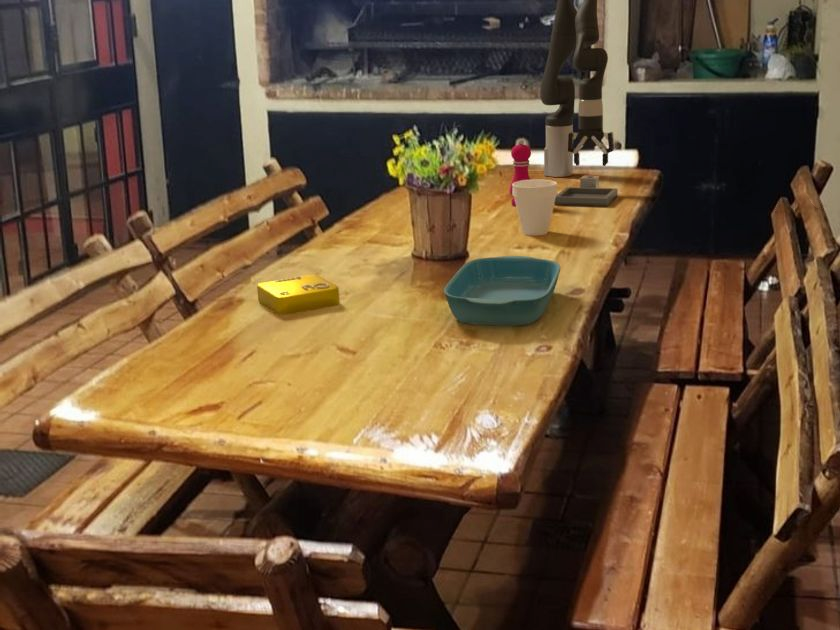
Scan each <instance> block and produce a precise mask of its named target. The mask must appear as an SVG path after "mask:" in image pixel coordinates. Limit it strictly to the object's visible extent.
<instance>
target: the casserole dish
mask: <svg viewBox="0 0 840 630" xmlns="http://www.w3.org/2000/svg"><path fill="white" fill-rule="evenodd" d="M560 272H561V265H560V263H559V262H557V261H556V260H555V261H554V260H550V259H544V258H538V257H537V258H536V257H532V256H524V255H502V256H496V257H495V256H494V257H482V258H481V257H480V258H475V259H473V260H469V261H468V262H465V263H464V264H463V265H462V266H461V267H460V268H459V270H458V271H457V272H456V273H455V274H454V275H453V277H452V278H451V279H450V280H449V282H448V283H447V284H446V285H445V286H444V289H443V294H444V295H445V298H446V301H447V303H448V306H449V308H450V312H451V314H452V315H453V318H455V319H456V320H457V321H459V322H460V323H463V324H466V325H474V326H475V325H477V326H499V327H501V326H505V327H509V326H510V327H511V326H512V327H514V326H517V327H519V326H527V325H529V324H532V323H534V322H536V321H537V320H538V319H539V318H540V317H542V315H543V314H544V312H545V310H546V308H547V306H548V304H549V302H550V300H551V298H552V296H553V294H554V291H555V289H556V286H557V283H558V279H559V276H560Z"/></svg>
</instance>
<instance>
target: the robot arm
mask: <svg viewBox="0 0 840 630" xmlns="http://www.w3.org/2000/svg"><path fill="white" fill-rule="evenodd" d="M550 35H551V36H550V43H549V50H548V55H547V60H546V65H545V68H544V71H543V76H542V80H541V84H540V90H539V91H540V95H539V96H540V100H541V102H542V104H543V105H545V106H559V107H558V108H557V109H556V111H554V112H553V113H551V114H549V115H547V116H546V117H545V147H544V149H543V152H544V153H543V154H544V155H543V163H544V164H543V166H544V167H543V172H544V174H543V175H544V177H545V176H546V177H553V178H555V177H556V178H563V177H564V178H565V177H570V176H573V175H574V164H575V165H576V166H577V167H578V166H580V164H581V163H580V151H581V149H582V148H583V147H586V148H587V147H591V148H592V147H597V148H598V149H599V150H600V151H601V152H602V167H606V165H607V164H608V163H609V153H612V152H613V151H614V150H615V144H614V143H615V142H614V140H615V139H614V132H613V131H610V132H604V123H603V122H604V107H603V105H604V104H603V81H604V77H605V71H606V69H607V66H608V65H607V64H608V60H609V57H608V52H607V51H606V49H605V48H603V47H591V46H593V45H595V44H597V43H598V42H599V40H600V29H599V22H598V0H583V1H582V3H581V4H580V6H579V8H578V9H577V10H576V8H575V5H574V2H573V0H557V3H556V9H555V15H554V20H553V23H552V29H551V34H550ZM587 47H588V48H587ZM589 47H590V48H589ZM573 53H574V54H573ZM572 55H573V58H572V66H573V68H574V69H575V70H576V71H577V72H579V73H586V72H587V73H588V72H594V74H593V76H592V77H589V78H586V79H584V80H581V81H580V82H579V85H578V93H579V94H578V99H579V101H578V109H577V112H578V132H574V128H573V127H574V117H575V99H576V87H575V82H574V80H573V78H572V77H570V76H559V74H560V72H561V69H562V68H563V66H564V65H565V63H566V62H567V61H568V60H569V59H570V58H571V56H572ZM576 138H577V139H578V140H579V142H578V144H577V145H576V147H575V148H574V142H575V140H576ZM604 138H605V139H606V140H607V143H608V144H607V145H608V148H607V146H606V145H605V143H604V141H602V140H603V139H604Z"/></svg>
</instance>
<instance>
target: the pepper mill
mask: <svg viewBox="0 0 840 630" xmlns="http://www.w3.org/2000/svg"><path fill="white" fill-rule="evenodd" d="M524 143H525V142H524V139H521V138H520V139H519V140H518V141H517V144H516V145H514V146H513V147H512V149H511V152H510V155H511V158H512V159H513V161H512V163H513V164H512V166H513V168H514V173H513V178H512V180H511V183H510V185H509V195H511V196H512V190H513V186H512V184H513V183H514V182H517V181H522V180H531V177H530V174H529V166H530V165H531V164H530V158H531V156H532V152H531V151H532V150H531V148H530V147H529V145H527V144H524ZM511 206H513V207H516V203H515V199H514V196H512V198H511Z"/></svg>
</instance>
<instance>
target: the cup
mask: <svg viewBox="0 0 840 630" xmlns="http://www.w3.org/2000/svg"><path fill="white" fill-rule="evenodd" d="M512 186H513V190H512V195H511V196H512V197H513V196H514V199H515V203H516V206H515V207H516V211H517V215H518V219H519V223H520V227H521V231H522V234H523V235H525V236H544V235H547V234H548V232H549V227H550V223H551V220H552V215H553V211H554V206H555V204H554V202H555V198H556V195H558V182H557V181H555V180H550V179H541V178H537V179H530V180H522V181H517V182H514V183H513V184H512Z"/></svg>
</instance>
